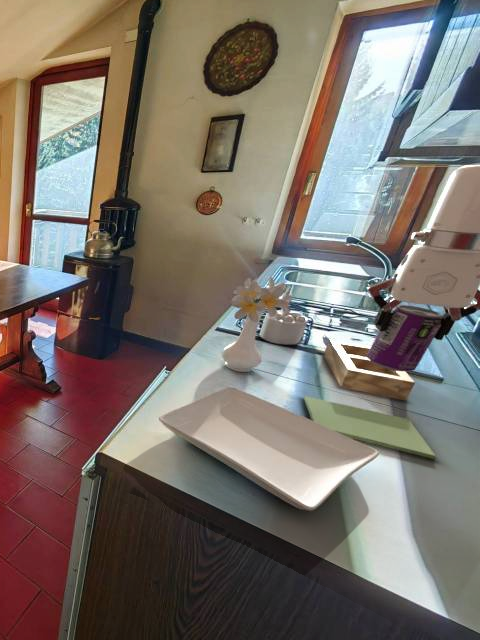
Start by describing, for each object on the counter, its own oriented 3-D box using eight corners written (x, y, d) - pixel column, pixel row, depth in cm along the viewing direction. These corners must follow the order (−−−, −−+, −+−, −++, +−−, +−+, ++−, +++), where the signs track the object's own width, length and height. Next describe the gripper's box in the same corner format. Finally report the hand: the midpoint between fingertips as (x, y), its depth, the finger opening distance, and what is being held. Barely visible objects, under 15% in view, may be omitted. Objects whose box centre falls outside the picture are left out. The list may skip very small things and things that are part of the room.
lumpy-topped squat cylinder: (304, 337, 128) (313, 313, 125) (291, 347, 121) (300, 322, 117) (267, 328, 136) (275, 304, 132) (253, 337, 128) (261, 312, 125)
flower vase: (205, 373, 105) (231, 284, 95) (218, 351, 118) (241, 270, 108) (264, 389, 98) (298, 294, 88) (270, 363, 111) (300, 278, 101)
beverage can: (415, 378, 74) (449, 320, 69) (364, 365, 79) (394, 309, 74) (411, 365, 79) (443, 310, 74) (364, 354, 83) (391, 301, 78)
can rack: (377, 364, 111) (384, 348, 109) (405, 400, 93) (415, 382, 91) (323, 354, 116) (329, 339, 114) (340, 387, 99) (348, 369, 97)
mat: (407, 422, 85) (408, 419, 85) (434, 459, 74) (436, 456, 74) (303, 398, 94) (304, 395, 94) (314, 428, 83) (315, 425, 83)
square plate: (152, 431, 82) (156, 415, 80) (226, 397, 94) (230, 383, 93) (304, 526, 60) (313, 507, 59) (374, 466, 72) (383, 449, 71)
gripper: (392, 239, 70) (352, 330, 77) (542, 249, 62) (482, 350, 69) (379, 234, 76) (343, 319, 83) (514, 242, 68) (462, 336, 75)
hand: (407, 332), depth 76 cm, fingers closed on beverage can, 7 cm apart
